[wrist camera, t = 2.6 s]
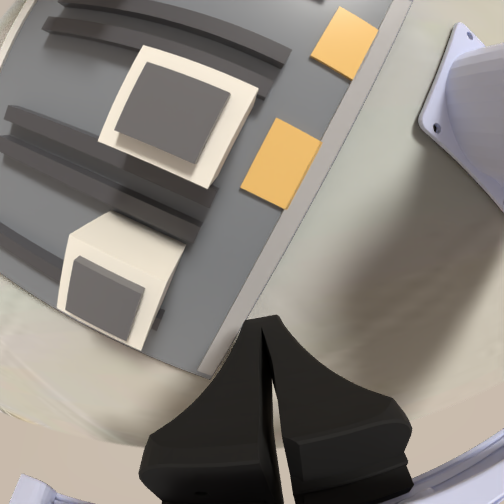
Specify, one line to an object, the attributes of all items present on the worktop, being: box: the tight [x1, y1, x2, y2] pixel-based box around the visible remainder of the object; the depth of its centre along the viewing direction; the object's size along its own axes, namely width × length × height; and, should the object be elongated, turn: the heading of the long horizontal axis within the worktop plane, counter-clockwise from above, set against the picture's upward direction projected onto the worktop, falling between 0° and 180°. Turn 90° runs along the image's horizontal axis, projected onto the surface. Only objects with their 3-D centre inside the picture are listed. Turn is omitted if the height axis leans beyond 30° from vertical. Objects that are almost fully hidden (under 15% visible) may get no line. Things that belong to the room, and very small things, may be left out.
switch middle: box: [98, 45, 259, 189], centre depth 8 cm, size 4×3×4 cm
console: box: [0, 0, 413, 380], centre depth 10 cm, size 18×22×2 cm
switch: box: [57, 210, 186, 351], centre depth 10 cm, size 4×3×4 cm
